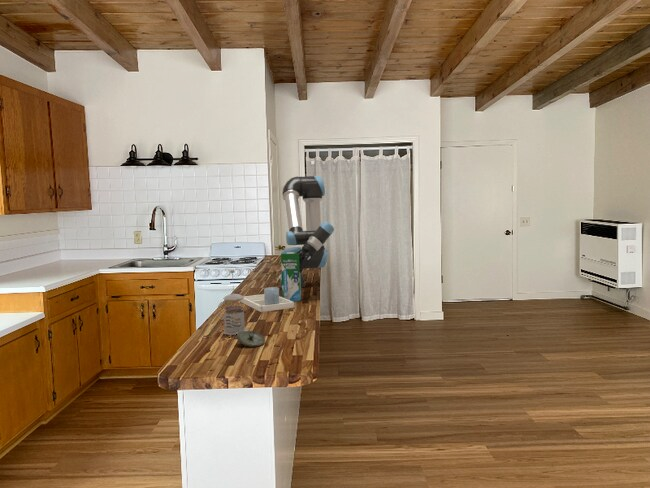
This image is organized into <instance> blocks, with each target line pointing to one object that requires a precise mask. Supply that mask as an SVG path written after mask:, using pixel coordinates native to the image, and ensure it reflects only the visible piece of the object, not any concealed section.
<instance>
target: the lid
mask: <svg viewBox="0 0 650 488" xmlns="http://www.w3.org/2000/svg"><path fill="white" fill-rule="evenodd" d="M235 336H236V337H235V338H236V340H237V341H238V342H239V343H240V344H242V345H243V346H246V347H249V348H256V347H261V346H263V345H264V344H265V343H266V339H265V337H264V336H263V335H262V334H261V333H259V332H257V331H254V330H247V331H242V332H239V333H238V334H237V335H235Z"/></svg>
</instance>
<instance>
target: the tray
mask: <svg viewBox="0 0 650 488" xmlns="http://www.w3.org/2000/svg"><path fill="white" fill-rule="evenodd" d="M243 297H244V298H243V299H242V300H240V302H241V304H244V305H245V306H248V307H250V308H252V309H253V310H255V311H258V312H260V313H264V312H265V313H266V312H271V311H278V310H280V311H281V310H286V309H294V308H295V301H290V300H288V299H285V298H283V297H282V296H280V295H279V304H273V305H266V306H265V299H264V293H263V294H254V295H247V296H243Z"/></svg>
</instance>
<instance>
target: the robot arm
mask: <svg viewBox="0 0 650 488" xmlns="http://www.w3.org/2000/svg"><path fill="white" fill-rule="evenodd" d="M325 191H326V189H325V183H324V180H323V178H322V177H321V176H318V175H309V176H294V177H291V178H290V179H288V180H287V182H285V184H284V186H283V188H282V191H281V192H282V199H283V201H284V202H285V203H284V204H285V209H286V211H285V212H286V218H287V226H288V231H286V233H285V239H286V241H285V242H286V245H288V246H293V247H287V248H284V249H283V250H282V251H281V254H287V253H289V252H294V253H299V255H300V266H299V271H300V282H301V289H303V287H304V288H306V281H305V278H304V276H303V271H304V270H305V269H307V270H308V269H320V268H324V267H325V266H326V265H327V261H328V248H326V247H325V243H326V242H327V240H328V239H329V238H330V237H331V235H332V234H333V233H334V232H335V227H334V226H333V225H332V224H331V223H330V222H328V221H326V220H324V221H322V223H321V201H322V200H323V197H325V194H326V193H325ZM300 197H302V201H304V203H305V206H304V207H305V227H306V229H305V230H304V228H303V223H302V216H301V211H300V203H299V198H300ZM278 279H279V280H280V281H279V289H282V275H281V274H280V275H279V276H278Z"/></svg>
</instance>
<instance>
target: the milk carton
mask: <svg viewBox="0 0 650 488" xmlns="http://www.w3.org/2000/svg"><path fill="white" fill-rule="evenodd" d="M280 265H281V266H280V268H281V269H280V270H281V271H280V272H281V273H280V275H282V288H281V297H283V298H285V299H288V300H290V301H292V302H300V301H301V299H302V290H301V289H302V288H301V282H300V271H299V266H300V255H299V253H294V252H289V253H287V254H282V253H280Z"/></svg>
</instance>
